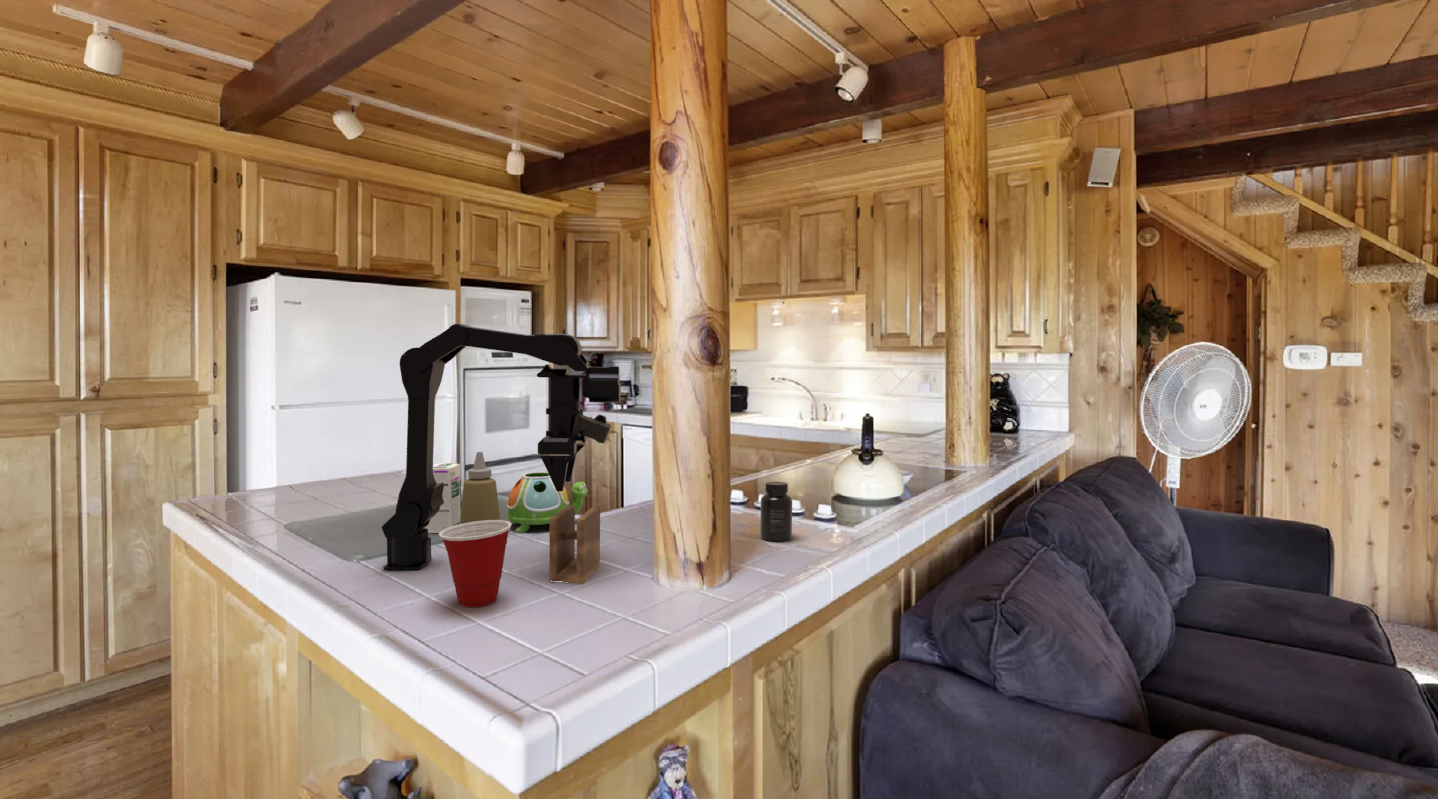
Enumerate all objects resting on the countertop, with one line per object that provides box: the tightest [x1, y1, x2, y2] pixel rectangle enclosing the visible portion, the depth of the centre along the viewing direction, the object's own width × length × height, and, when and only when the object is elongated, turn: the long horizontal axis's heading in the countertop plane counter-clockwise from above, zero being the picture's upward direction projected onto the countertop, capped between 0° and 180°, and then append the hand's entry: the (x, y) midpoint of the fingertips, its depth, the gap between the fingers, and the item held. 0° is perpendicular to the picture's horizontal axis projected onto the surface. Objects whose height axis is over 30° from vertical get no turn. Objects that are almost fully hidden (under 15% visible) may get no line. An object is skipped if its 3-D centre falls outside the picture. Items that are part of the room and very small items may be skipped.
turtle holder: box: [506, 471, 589, 533], centre depth 153 cm, size 12×18×12 cm
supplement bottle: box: [759, 481, 793, 542], centre depth 145 cm, size 7×7×12 cm
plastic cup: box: [438, 519, 512, 608], centre depth 106 cm, size 11×11×12 cm
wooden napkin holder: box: [548, 504, 601, 585], centre depth 120 cm, size 6×10×11 cm, turn 174°
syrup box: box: [425, 462, 462, 534], centre depth 147 cm, size 6×6×14 cm
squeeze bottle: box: [460, 451, 501, 524], centre depth 142 cm, size 8×8×18 cm
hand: (563, 486), depth 125 cm, fingers open, 9 cm apart
